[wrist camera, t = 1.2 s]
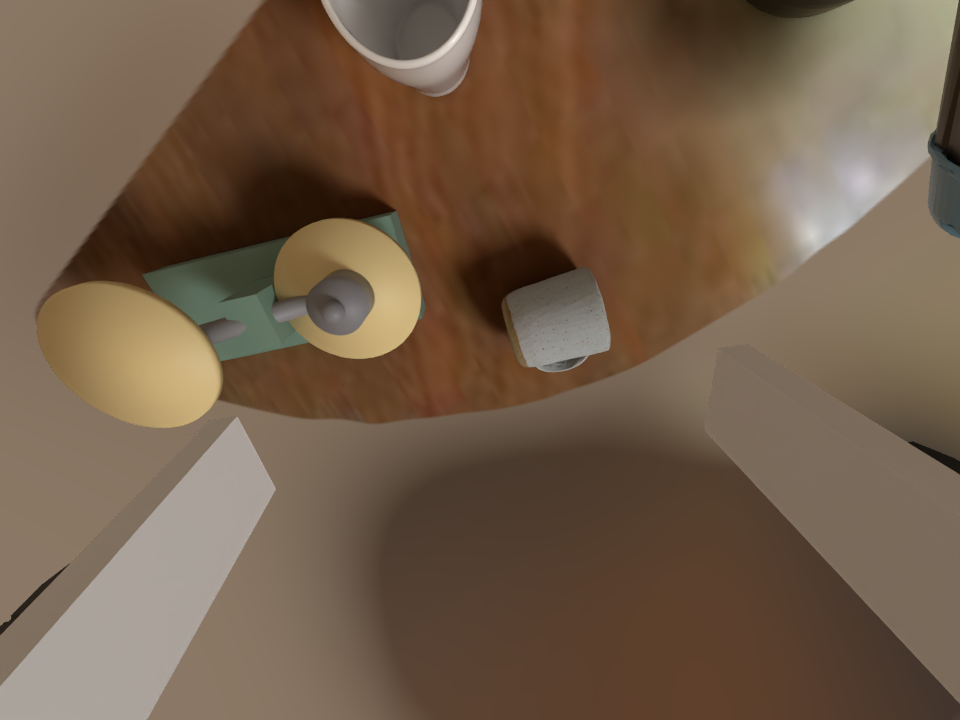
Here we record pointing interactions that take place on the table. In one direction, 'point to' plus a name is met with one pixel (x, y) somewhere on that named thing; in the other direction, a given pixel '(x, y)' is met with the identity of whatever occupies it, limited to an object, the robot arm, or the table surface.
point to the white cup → (411, 38)
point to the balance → (231, 317)
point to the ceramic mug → (557, 321)
